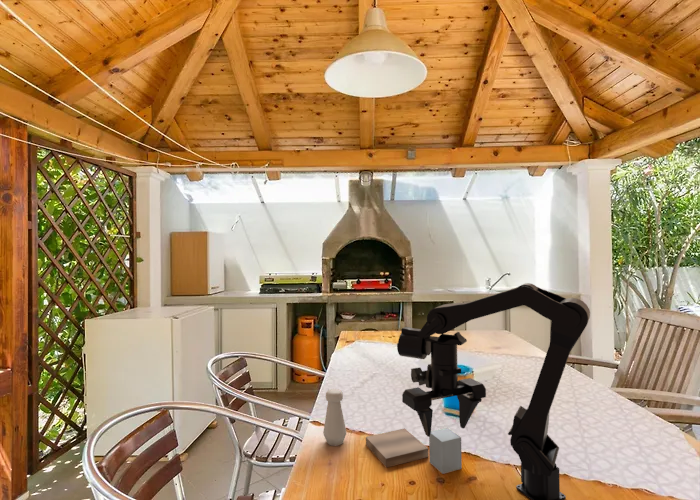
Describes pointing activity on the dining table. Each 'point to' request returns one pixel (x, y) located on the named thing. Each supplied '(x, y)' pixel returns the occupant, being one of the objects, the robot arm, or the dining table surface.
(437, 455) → the slate block
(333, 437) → the salt shaker
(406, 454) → the walnut plinth
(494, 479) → the dining table surface
